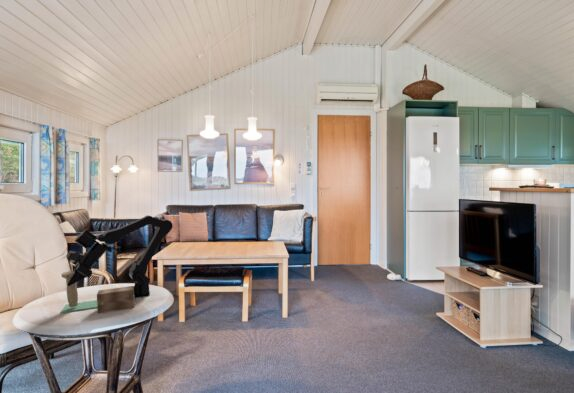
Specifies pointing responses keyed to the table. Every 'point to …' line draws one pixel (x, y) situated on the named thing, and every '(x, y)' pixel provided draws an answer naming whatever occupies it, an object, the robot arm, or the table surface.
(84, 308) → the mat
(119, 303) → the cabinet
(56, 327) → the table surface
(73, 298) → the handle
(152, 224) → the robot arm
